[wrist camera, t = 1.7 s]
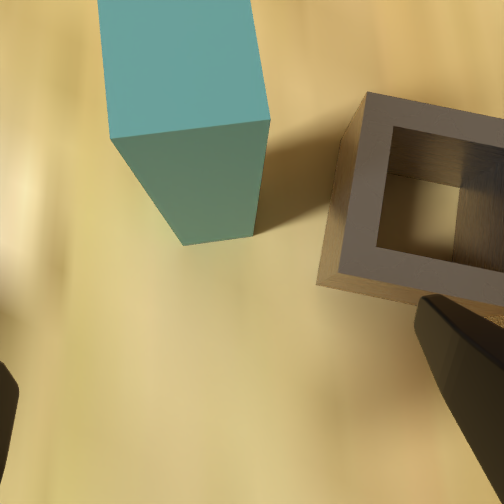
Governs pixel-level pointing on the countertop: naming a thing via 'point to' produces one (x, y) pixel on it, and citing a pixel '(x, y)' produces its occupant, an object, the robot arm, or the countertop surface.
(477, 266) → the block
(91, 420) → the countertop surface
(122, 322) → the countertop surface
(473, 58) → the countertop surface
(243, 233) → the square bit
